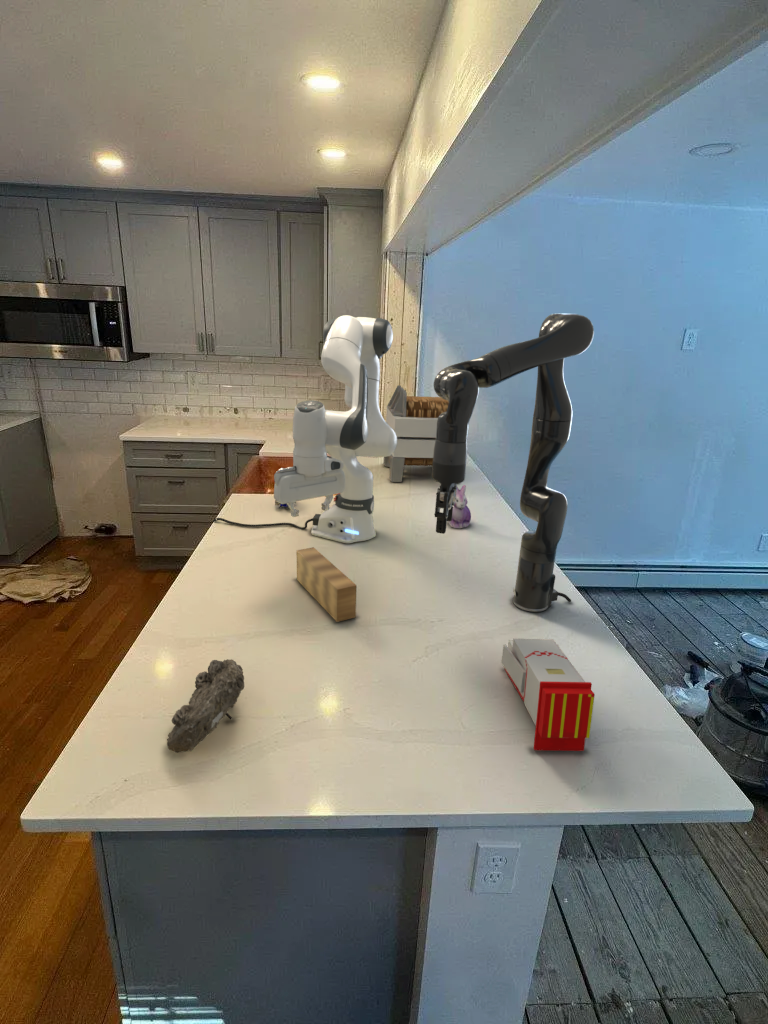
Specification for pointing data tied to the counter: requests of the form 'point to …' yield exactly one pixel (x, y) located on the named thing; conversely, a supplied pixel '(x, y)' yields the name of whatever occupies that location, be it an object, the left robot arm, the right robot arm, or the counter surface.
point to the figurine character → (281, 505)
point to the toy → (550, 693)
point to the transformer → (412, 430)
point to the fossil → (206, 705)
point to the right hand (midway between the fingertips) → (444, 526)
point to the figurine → (460, 510)
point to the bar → (326, 584)
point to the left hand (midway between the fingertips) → (310, 512)
